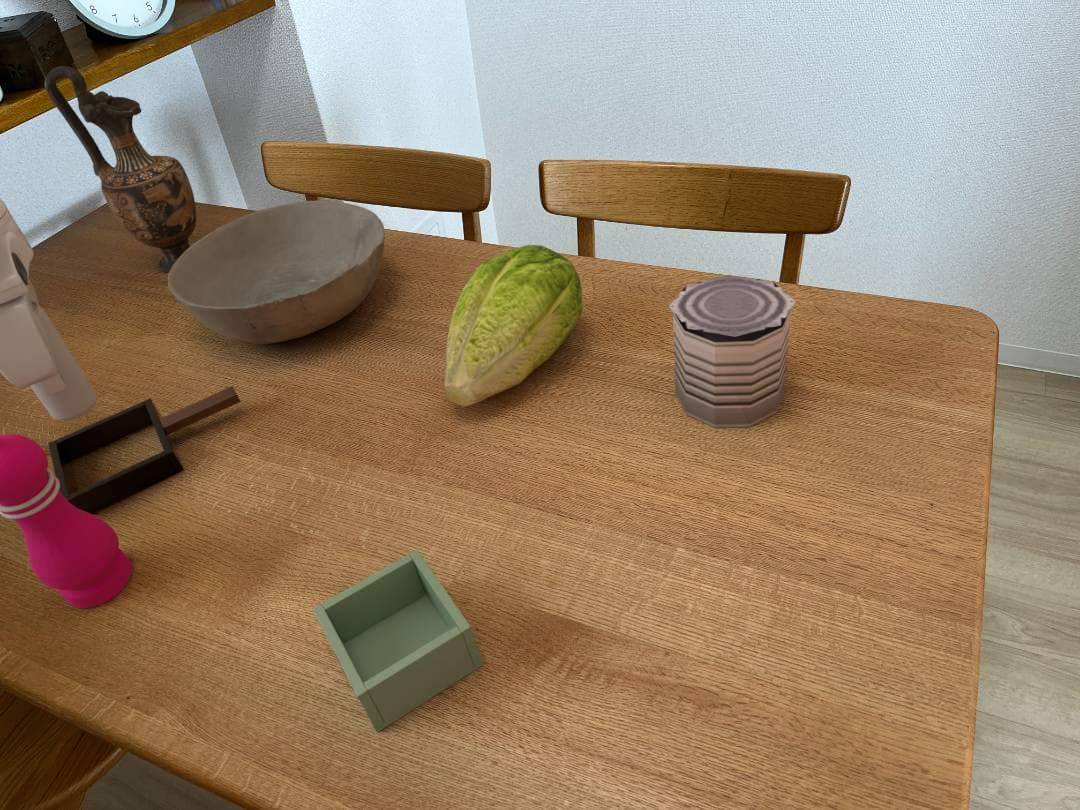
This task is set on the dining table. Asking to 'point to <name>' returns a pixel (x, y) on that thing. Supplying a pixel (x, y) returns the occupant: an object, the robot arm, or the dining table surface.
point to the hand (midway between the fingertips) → (53, 373)
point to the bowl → (281, 270)
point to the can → (731, 349)
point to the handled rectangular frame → (118, 428)
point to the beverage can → (77, 387)
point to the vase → (131, 170)
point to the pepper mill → (59, 529)
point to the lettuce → (509, 321)
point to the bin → (398, 638)
